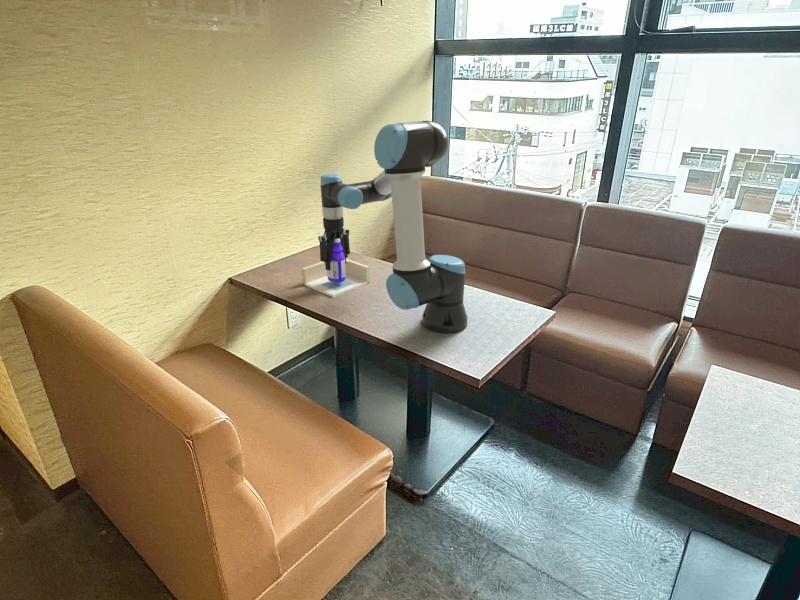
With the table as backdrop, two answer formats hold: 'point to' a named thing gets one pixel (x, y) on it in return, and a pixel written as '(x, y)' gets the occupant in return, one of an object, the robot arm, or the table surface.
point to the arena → (319, 281)
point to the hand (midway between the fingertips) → (336, 275)
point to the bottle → (338, 263)
